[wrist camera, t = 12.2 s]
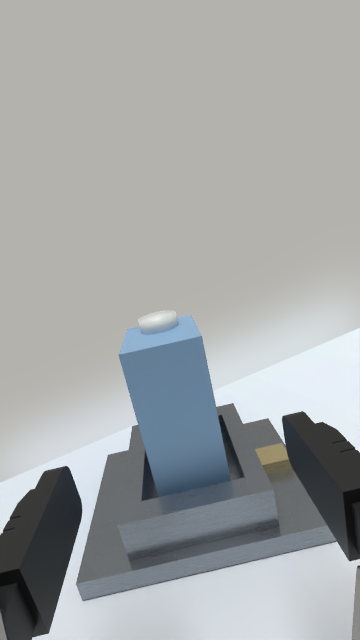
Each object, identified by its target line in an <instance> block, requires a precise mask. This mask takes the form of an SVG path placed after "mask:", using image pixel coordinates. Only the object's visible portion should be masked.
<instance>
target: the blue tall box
mask: <svg viewBox="0 0 360 640" xmlns="http://www.w3.org/2000/svg"><path fill="white" fill-rule="evenodd" d="M138 323H139V327H135V328H130V329H128V330H127V333H126V335H125V338H124V341H123V344H122V347H121V350H120V353H119V358H120V361H121V365H122V368H123V372H124V375H125V379H126V383H127V386H128V390H129V393H130V397H131V401H132V404H133V408H134V411H135V415H136V418H137V422H138V426H139V429H140V433H141V436H142V440H143V443H144V447H145V450H146V454H147V458H148V461H149V465H150V468H151V472H152V475H153V479H154V483H155V486H156V490H157V493H158V497H162V496H166V495H171V494H175V493H180V492H184V491H188V490H193V489H197V488H201V487H206V486H210V485H214V484H219V483H223V482H227V481H231V478H230V473H229V468H228V463H227V459H226V454H225V449H224V444H223V439H222V434H221V429H220V424H219V419H218V414H217V409H216V404H215V399H214V394H213V389H212V384H211V379H210V374H209V370H208V365H207V360H206V355H205V351H204V345H203V340H202V336H201V334H200V332H199V330H198V328H197V326H196V324H195V322H194V320H193V318H192V316H191V315H189V316H184V317H179V318H177V317H176V312H175V311H174V310H164V311H158V312H153V313H150V314H147V315H144V316H142V317H140V318H139V319H138Z"/></svg>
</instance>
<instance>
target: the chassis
mask: <svg viewBox="0 0 360 640" xmlns="http://www.w3.org/2000/svg"><path fill="white" fill-rule="evenodd" d="M216 409H217V414H218V419H219V424H220V429H221V434H222V439H223V444H224V449H225V454H226V459H227V463H228V468H229V473H230V478H231V481H227V482H223V483H219V484H214V485H210V486H206V487H201V488H197V489H193V490H188V491H184V492H180V493H175V494H171V495H166V496H162V497H158V493H157V490H156V486H155V483H154V479H153V475H152V472H151V468H150V465H149V461H148V458H147V454H146V450H145V447H144V443H143V440H142V436H141V433H140V429H139V426H138V425H135V426H132V433H131V439H130V446H129V450H127V451H123V452H119V453H114V454H110V455H108V457H107V461H106V465H105V469H104V473H103V477H102V481H101V486H100V490H99V494H98V498H97V502H96V506H95V510H94V514H93V518H92V522H91V526H90V530H89V534H88V538H87V542H86V546H85V550H84V554H83V558H82V562H81V566H80V570H79V574H78V578H77V582H76V585H77V588H78V590H79V593H80V595H81V598H82V600H87V599H91V598H95V597H100V596H104V595H108V594H113V593H117V592H121V591H125V590H130V589H134V588H138V587H142V586H147V585H151V584H155V583H159V582H164V581H168V580H172V579H176V578H181V577H185V576H189V575H194V574H198V573H202V572H206V571H211V570H215V569H219V568H223V567H228V566H232V565H236V564H240V563H245V562H249V561H253V560H257V559H262V558H266V557H270V556H275V555H279V554H283V553H287V552H292V551H296V550H300V549H304V548H309V547H313V546H317V545H321V544H326V543H330V542H334V541H337V540H336V539H335V537H334V536H333V534H332V532H331V531H330V529H329V527H328V526H327V524H326V522H325V521H324V519H323V518H322V516H321V514H320V513H319V511H318V509H317V508H316V506H315V504H314V503H313V501H312V500H311V498H310V496H309V495H308V493H307V491H306V490H305V488H304V487H303V485H302V483H301V482H300V480H299V478H298V477H297V475H296V473H295V472H294V470H293V468H292V466H291V464H290V461H289V458H288V455H287V450H286V446H285V444H284V443H283V441H282V440H281V438H280V436H279V435H278V433H277V432H276V430H275V428H274V427H273V425H272V424H271V422H270V421H269V419H263V420H259V421H255V422H250V423H246V424H243V423H242V421H241V419H240V417H239V415H238V413H237V410H236V408H235V406H234V404H233V403H232V404H228V405H223V406H219V407H216Z"/></svg>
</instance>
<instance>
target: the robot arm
mask: <svg viewBox="0 0 360 640" xmlns="http://www.w3.org/2000/svg"><path fill="white" fill-rule="evenodd" d="M282 423H283V430H284V437H285V443H286V450H287V455H288V458H289V461H290V464H291V466H292V468H293V470H294V472H295V473H296V475H297V477H298V478H299V480H300V482H301V483H302V485H303V487H304V488H305V490H306V491H307V493H308V495H309V496H310V498H311V500H312V501H313V503H314V504H315V506H316V508H317V509H318V511H319V513H320V514H321V516H322V518H323V519H324V521H325V522H326V524H327V526H328V527H329V529H330V531H331V532H332V534H333V536H334V537H335V539H336V540H337V542H338V544H339V545H340V547H341V549H342V550H343V552H344V553H345V555H346V557H347V558H348V560H349V561H353V560H357V559H360V453H359V451H358V450H355V447H354V446H353V445H352V444H351V443H350V442H349V441H348V442H347V440H346V438H345V437H344V436H343V435H342V434H341V433H340V432H339V431H338V430H337V429H335V428H333V427H331V426H329V425H327V424H325V423H323V422H320V423H316V424H315V423H314V422H313V421H312V420H311V419H310V418H309V417H308V416H307V415H306V413H305V412H303V411H302V412H298V413H294V414H289V415H285V416H283V417H282ZM81 517H82V503H81V499H80V496H79V493H78V491H77V488H76V485H75V482H74V480H73V477H72V474H71V471H70V469H69V468H68V467H67V466H64V467H60V468H56V469H51V470H47V471H45V472H44V473H43V474H42V476H41V478H40V480H39V482H38V484H37V486H36V488H35V489H32V490H30V491H29V492H28V493H27V494H26V495H25V496H24V497H23V498H22V500H21V501H20V502H19V503H18V504H17V506H16V508H15V509H14V511H13V513H12V515H11V517H10V521H8V522H7V524H6V526H5V528H4V529H3V533H1V535H0V640H32V637H36V636H40V635H44V634H48V633H49V631H50V627H51V624H52V620H53V617H54V613H55V610H56V606H57V603H58V599H59V596H60V592H61V589H62V585H63V582H64V578H65V575H66V571H67V568H68V564H69V561H70V557H71V553H72V550H73V546H74V543H75V539H76V536H77V532H78V529H79V525H80V522H81ZM352 640H360V566H358V567H357V573H356V586H355V600H354V615H353V629H352Z"/></svg>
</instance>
